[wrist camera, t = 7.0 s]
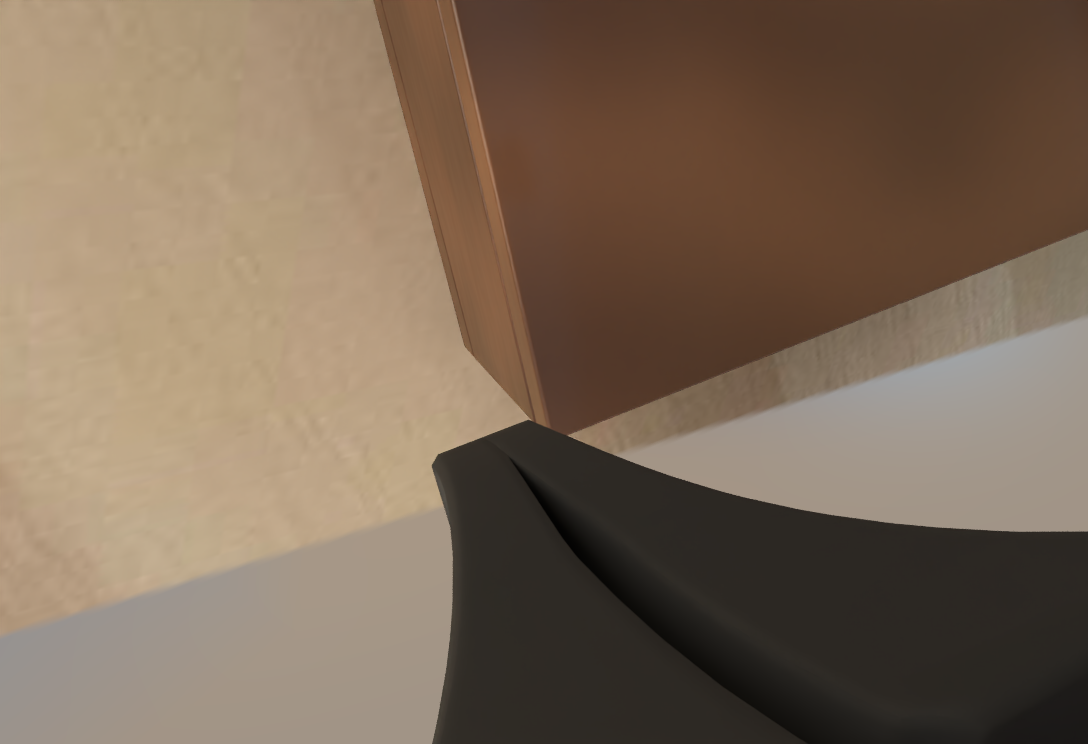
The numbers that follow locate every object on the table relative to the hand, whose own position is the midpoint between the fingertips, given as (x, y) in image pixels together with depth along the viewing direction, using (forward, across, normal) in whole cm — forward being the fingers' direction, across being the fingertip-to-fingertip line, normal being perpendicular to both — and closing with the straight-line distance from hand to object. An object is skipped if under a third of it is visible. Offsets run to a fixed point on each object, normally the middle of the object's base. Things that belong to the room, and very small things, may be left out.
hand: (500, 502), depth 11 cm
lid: (+6, -10, -4) cm, 12 cm away
